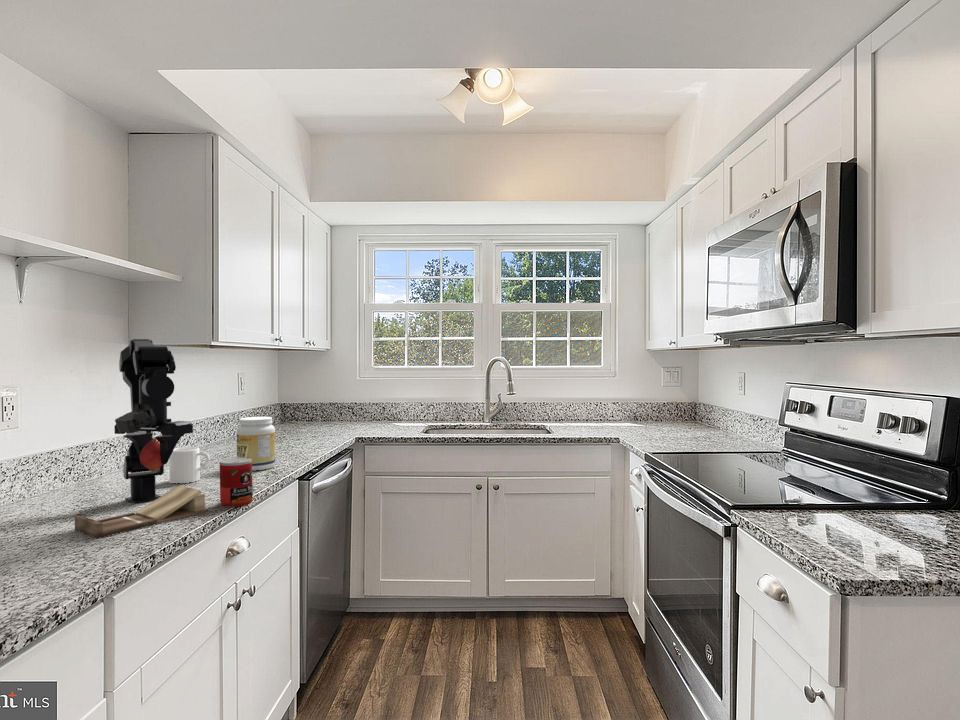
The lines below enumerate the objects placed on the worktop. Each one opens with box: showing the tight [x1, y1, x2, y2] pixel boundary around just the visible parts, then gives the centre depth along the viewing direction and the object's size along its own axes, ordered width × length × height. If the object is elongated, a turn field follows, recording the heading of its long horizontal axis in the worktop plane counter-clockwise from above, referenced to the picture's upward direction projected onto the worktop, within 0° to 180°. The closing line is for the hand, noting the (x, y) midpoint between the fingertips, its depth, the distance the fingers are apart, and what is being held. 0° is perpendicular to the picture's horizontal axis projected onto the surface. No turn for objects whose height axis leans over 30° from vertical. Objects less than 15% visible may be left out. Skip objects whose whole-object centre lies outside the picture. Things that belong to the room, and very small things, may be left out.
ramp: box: [135, 484, 206, 520], centre depth 136 cm, size 10×11×6 cm
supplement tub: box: [236, 416, 276, 472], centre depth 192 cm, size 12×12×17 cm
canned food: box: [219, 457, 254, 508], centre depth 146 cm, size 8×8×11 cm
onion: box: [140, 437, 162, 472], centre depth 135 cm, size 6×6×8 cm
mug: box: [169, 446, 211, 485], centre depth 172 cm, size 8×12×10 cm
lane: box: [74, 508, 205, 539], centre depth 130 cm, size 11×23×3 cm, turn 146°
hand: (154, 463), depth 136 cm, fingers closed on onion, 6 cm apart
